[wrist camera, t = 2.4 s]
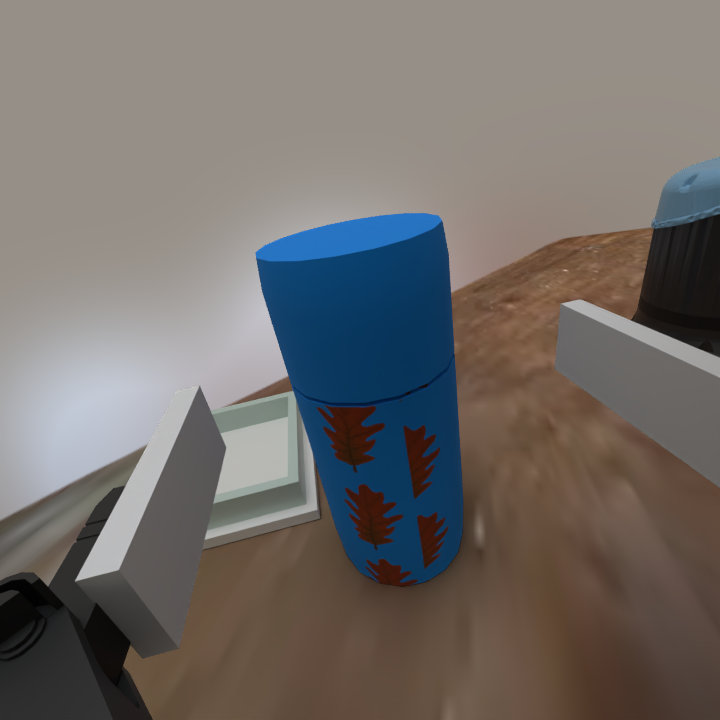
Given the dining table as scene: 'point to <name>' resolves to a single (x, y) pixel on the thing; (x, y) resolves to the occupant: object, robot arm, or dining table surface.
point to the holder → (262, 471)
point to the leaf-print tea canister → (375, 384)
